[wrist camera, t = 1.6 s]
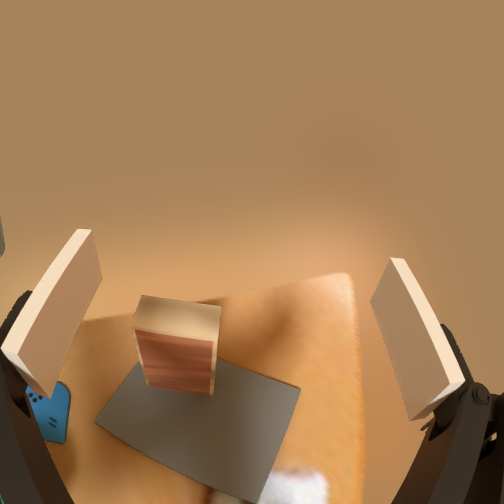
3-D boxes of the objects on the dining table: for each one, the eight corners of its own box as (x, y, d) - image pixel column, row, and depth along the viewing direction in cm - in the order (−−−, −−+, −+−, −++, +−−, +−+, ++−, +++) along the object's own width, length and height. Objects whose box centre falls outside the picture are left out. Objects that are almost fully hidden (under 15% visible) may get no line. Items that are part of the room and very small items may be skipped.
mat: (95, 422, 28) (93, 420, 27) (162, 334, 40) (161, 331, 40) (255, 503, 23) (256, 503, 23) (299, 391, 36) (301, 389, 35)
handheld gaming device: (62, 442, 24) (-29, 416, 21) (66, 445, 25) (-24, 419, 21) (70, 382, 30) (-15, 366, 27) (73, 386, 31) (-12, 370, 28)
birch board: (212, 397, 33) (217, 340, 26) (147, 387, 33) (130, 327, 25) (215, 369, 36) (221, 306, 29) (153, 359, 36) (141, 294, 29)
